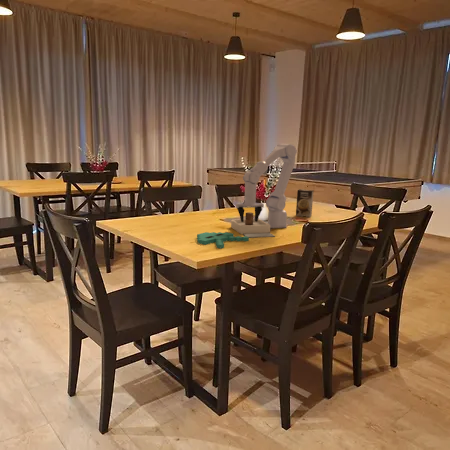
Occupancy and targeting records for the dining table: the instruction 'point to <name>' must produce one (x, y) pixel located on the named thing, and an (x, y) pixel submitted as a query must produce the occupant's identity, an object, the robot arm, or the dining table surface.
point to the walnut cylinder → (249, 218)
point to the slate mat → (258, 235)
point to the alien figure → (218, 238)
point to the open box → (250, 227)
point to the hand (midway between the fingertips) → (249, 221)
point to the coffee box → (304, 203)
